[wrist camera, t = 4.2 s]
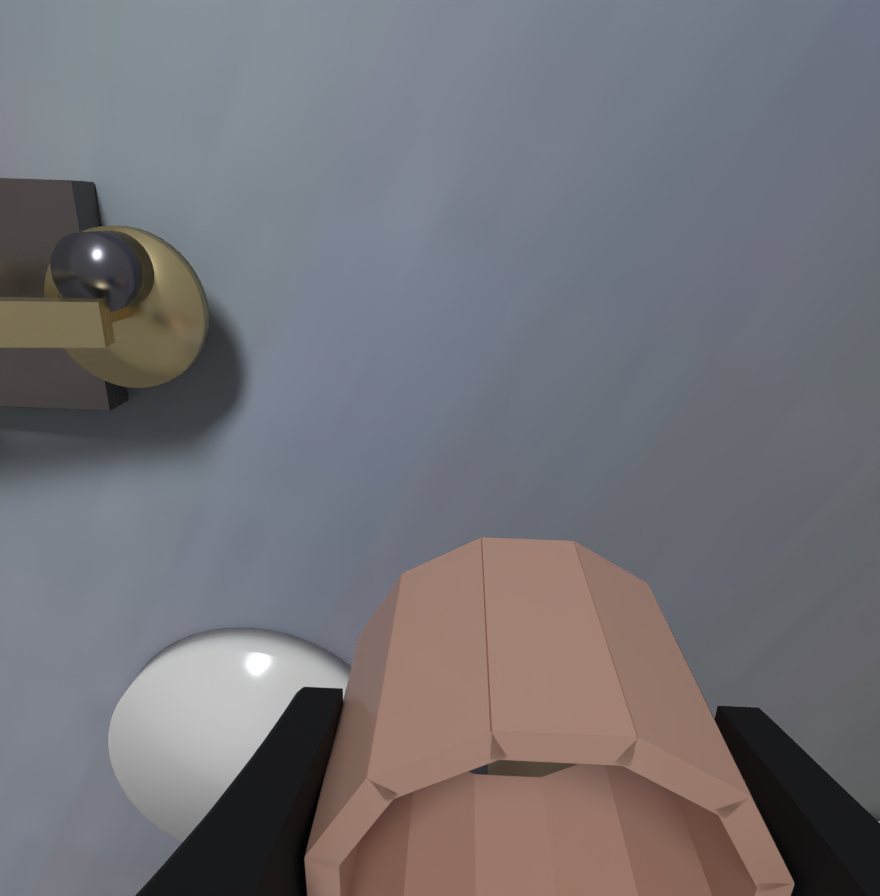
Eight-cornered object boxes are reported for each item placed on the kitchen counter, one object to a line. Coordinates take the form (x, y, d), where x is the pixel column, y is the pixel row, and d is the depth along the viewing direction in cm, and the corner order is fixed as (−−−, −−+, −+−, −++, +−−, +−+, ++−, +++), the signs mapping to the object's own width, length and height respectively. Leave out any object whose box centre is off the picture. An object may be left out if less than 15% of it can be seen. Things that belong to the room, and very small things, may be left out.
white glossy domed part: (392, 842, 25) (389, 871, 24) (145, 826, 25) (131, 855, 24) (393, 635, 21) (389, 659, 20) (105, 620, 21) (85, 642, 20)
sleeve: (650, 798, 12) (733, 1063, 8) (363, 783, 12) (318, 1037, 8) (701, 545, 10) (840, 746, 6) (356, 532, 10) (293, 720, 6)
